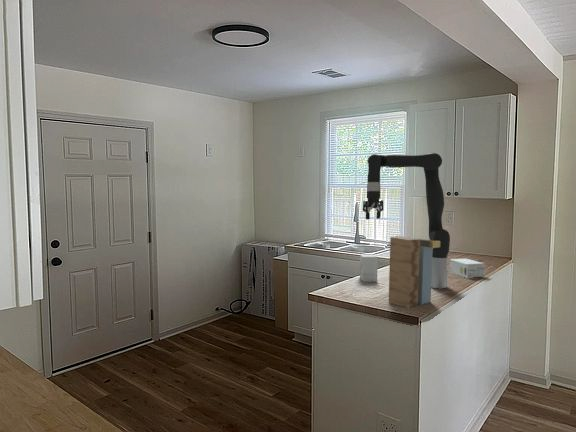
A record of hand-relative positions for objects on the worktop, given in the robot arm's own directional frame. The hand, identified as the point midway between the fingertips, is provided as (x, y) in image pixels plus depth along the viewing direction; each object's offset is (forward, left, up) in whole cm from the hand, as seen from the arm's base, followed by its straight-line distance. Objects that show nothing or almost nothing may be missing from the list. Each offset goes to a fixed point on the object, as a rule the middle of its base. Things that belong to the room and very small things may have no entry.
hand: (373, 219), depth 244 cm
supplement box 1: (-8, -10, -38) cm, 40 cm away
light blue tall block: (+6, +35, -38) cm, 52 cm away
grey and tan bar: (+6, +33, -10) cm, 35 cm away
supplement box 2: (-71, +15, -38) cm, 82 cm away
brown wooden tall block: (+16, +35, -38) cm, 54 cm away
